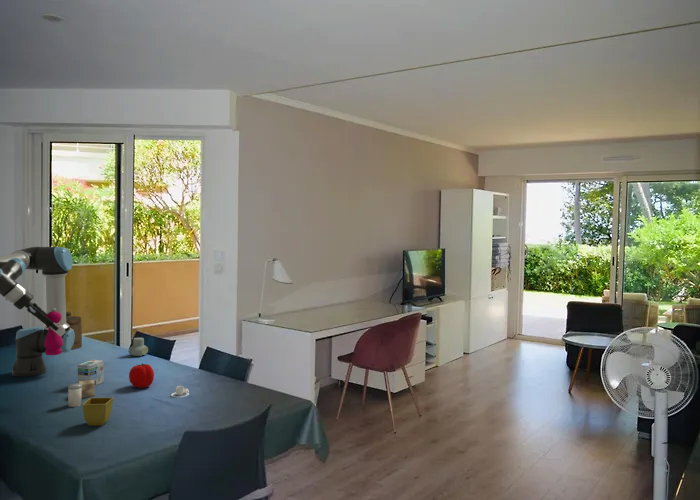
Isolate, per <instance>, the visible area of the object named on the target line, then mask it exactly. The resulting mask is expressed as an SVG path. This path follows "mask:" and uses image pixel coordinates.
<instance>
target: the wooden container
mask: <svg viewBox="0 0 700 500" xmlns="http://www.w3.org/2000/svg"><path fill="white" fill-rule="evenodd" d="M66 323H67V324H69V325H70V330H73V331H74V333H75V339H74V343H73V346H72V348H71V349H70V350H75V349H76V348H77V349H80V348H82V347H81V346H83V341H82V339H83V338H82V336H83V334H82V317H81V316H72V312H70V311H66ZM79 347H80V348H79Z"/></svg>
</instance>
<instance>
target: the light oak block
mask: <svg viewBox="0 0 700 500" xmlns="http://www.w3.org/2000/svg"><path fill="white" fill-rule="evenodd" d="M79 384H82V387H81V399H82V398H83V399H84V398H85V399H86V398H95V395H96V394H95V393H96V391H95V387H96V386H95V383H94V380H88V381H79Z"/></svg>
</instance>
